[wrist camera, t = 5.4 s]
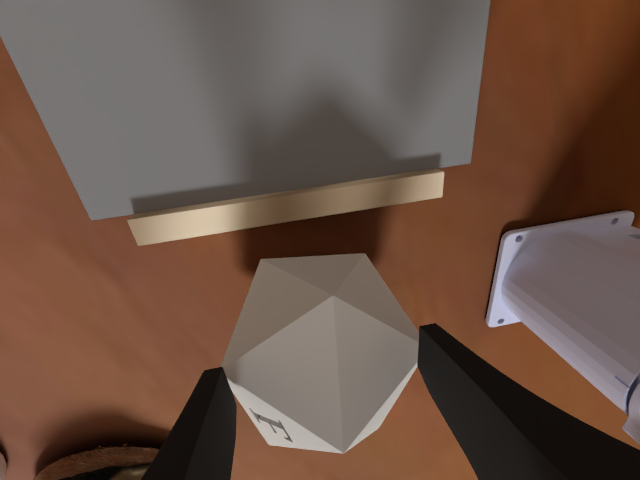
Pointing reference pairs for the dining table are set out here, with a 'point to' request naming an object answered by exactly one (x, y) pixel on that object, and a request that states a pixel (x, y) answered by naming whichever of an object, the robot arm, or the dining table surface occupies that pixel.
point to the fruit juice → (2, 467)
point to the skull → (101, 464)
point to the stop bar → (284, 206)
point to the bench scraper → (246, 92)
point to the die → (320, 351)
